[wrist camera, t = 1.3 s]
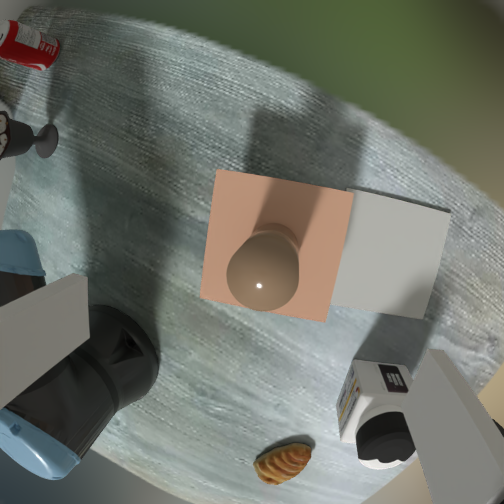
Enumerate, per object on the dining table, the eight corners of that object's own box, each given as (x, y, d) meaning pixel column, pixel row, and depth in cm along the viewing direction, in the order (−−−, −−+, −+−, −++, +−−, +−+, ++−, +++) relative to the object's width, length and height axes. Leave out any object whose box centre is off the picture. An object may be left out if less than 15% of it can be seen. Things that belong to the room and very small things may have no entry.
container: (352, 357, 37) (370, 427, 24) (406, 364, 36) (438, 428, 23) (335, 404, 38) (342, 476, 26) (386, 409, 38) (406, 476, 25)
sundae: (55, 109, 35) (-24, 95, 21) (67, 147, 36) (-17, 141, 21) (28, 135, 37) (-48, 131, 22) (39, 172, 37) (-41, 177, 23)
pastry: (289, 432, 40) (288, 450, 37) (322, 449, 41) (323, 467, 37) (250, 460, 43) (247, 476, 39) (283, 475, 43) (281, 492, 39)
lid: (202, 294, 31) (163, 340, 21) (219, 169, 28) (180, 163, 18) (324, 318, 30) (333, 376, 20) (352, 192, 27) (380, 197, 17)
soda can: (32, 65, 34) (-20, 50, 22) (50, 36, 33) (-1, 14, 21) (48, 75, 34) (-8, 58, 23) (67, 44, 33) (14, 20, 21)
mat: (321, 301, 36) (322, 302, 35) (346, 187, 33) (346, 187, 32) (421, 318, 34) (422, 319, 34) (449, 213, 31) (451, 213, 31)
